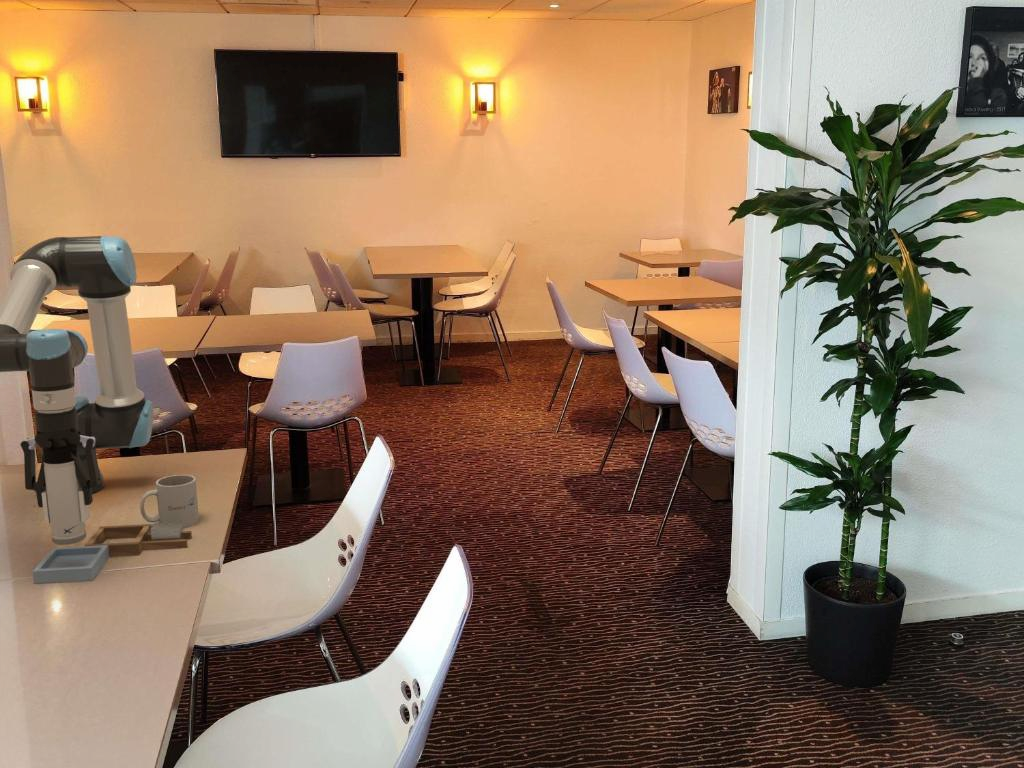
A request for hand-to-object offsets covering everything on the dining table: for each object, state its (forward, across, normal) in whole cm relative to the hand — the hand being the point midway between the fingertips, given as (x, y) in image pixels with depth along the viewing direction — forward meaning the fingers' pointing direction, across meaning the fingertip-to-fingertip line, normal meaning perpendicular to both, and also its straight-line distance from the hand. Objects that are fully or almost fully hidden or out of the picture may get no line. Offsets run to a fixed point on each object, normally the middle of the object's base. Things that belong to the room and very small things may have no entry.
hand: (67, 520), depth 191 cm
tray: (+11, 0, 0) cm, 11 cm away
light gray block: (+11, +16, +12) cm, 23 cm away
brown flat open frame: (+11, +11, +12) cm, 19 cm away
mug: (+11, +14, +25) cm, 31 cm away
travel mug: (+4, 0, 0) cm, 4 cm away
